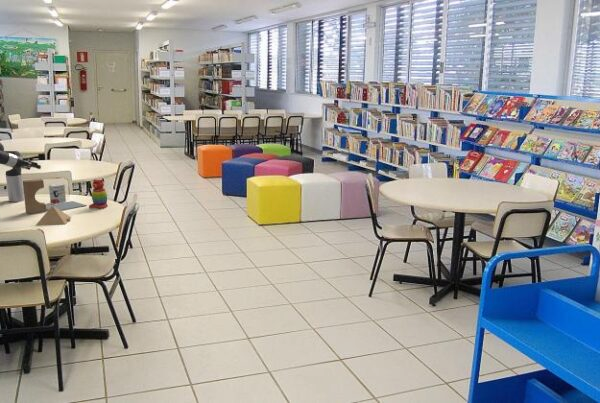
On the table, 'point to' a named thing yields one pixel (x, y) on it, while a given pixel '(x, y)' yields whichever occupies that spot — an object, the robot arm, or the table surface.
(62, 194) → the ink box
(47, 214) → the model pyramid
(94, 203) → the stacking bear
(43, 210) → the decorative block
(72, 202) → the mat
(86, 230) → the table surface
